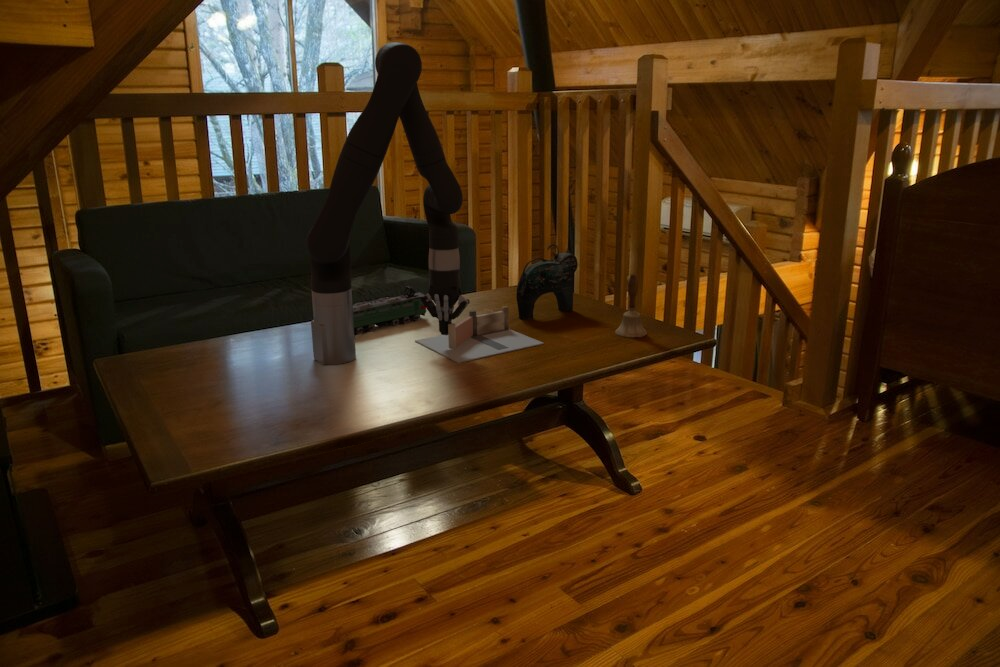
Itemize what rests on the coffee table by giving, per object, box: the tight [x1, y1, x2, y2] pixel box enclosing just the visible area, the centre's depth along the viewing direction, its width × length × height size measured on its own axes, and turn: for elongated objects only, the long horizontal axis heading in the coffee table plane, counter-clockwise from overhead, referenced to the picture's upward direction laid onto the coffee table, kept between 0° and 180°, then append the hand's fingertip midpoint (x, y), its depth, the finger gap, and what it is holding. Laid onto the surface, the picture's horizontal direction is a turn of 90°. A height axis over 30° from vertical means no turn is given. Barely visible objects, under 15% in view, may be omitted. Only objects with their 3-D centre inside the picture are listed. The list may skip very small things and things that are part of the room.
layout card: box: [414, 328, 544, 364], centre depth 200 cm, size 26×21×1 cm
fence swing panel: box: [448, 315, 473, 349], centre depth 198 cm, size 12×2×6 cm, turn 158°
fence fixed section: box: [468, 305, 510, 336], centre depth 207 cm, size 12×2×6 cm, turn 125°
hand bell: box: [614, 273, 648, 339], centre depth 205 cm, size 8×8×16 cm
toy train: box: [352, 285, 428, 335], centre depth 213 cm, size 5×31×10 cm, turn 131°
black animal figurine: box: [515, 243, 578, 321], centre depth 223 cm, size 20×6×20 cm, turn 124°
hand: (445, 334), depth 195 cm, fingers closed
